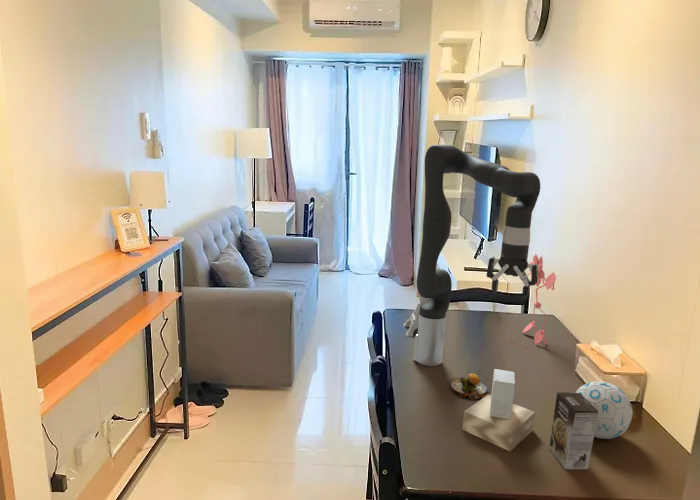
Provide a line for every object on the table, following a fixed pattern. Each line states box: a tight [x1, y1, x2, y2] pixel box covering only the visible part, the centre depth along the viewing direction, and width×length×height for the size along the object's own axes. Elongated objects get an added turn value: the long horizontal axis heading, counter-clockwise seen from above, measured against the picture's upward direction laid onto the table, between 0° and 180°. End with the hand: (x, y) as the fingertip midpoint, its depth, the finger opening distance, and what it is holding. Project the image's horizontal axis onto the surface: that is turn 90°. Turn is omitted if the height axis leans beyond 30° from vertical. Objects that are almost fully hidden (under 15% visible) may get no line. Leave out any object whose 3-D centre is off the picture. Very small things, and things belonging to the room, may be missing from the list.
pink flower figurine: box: [507, 254, 557, 349], centre depth 210 cm, size 15×26×35 cm, turn 2°
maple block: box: [461, 394, 536, 452], centre depth 146 cm, size 14×14×6 cm
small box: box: [490, 368, 516, 420], centre depth 144 cm, size 8×6×10 cm
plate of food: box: [449, 371, 489, 400], centre depth 168 cm, size 12×12×8 cm
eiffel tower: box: [403, 295, 428, 337], centre depth 214 cm, size 13×13×30 cm
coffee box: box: [549, 391, 598, 470], centre depth 133 cm, size 9×6×16 cm
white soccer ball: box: [574, 380, 634, 440], centre depth 145 cm, size 15×15×15 cm
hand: (509, 294), depth 158 cm, fingers open, 8 cm apart
